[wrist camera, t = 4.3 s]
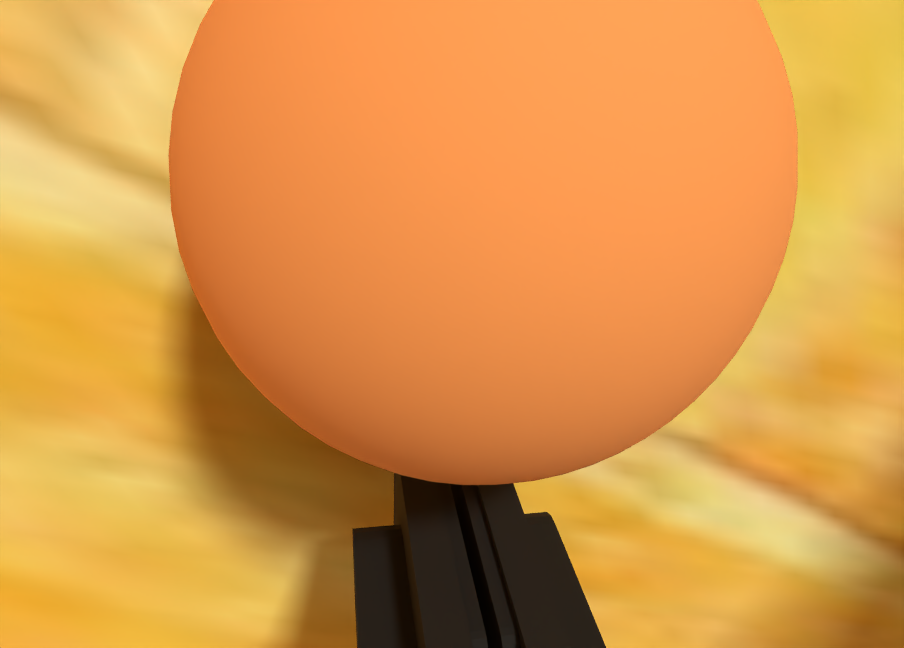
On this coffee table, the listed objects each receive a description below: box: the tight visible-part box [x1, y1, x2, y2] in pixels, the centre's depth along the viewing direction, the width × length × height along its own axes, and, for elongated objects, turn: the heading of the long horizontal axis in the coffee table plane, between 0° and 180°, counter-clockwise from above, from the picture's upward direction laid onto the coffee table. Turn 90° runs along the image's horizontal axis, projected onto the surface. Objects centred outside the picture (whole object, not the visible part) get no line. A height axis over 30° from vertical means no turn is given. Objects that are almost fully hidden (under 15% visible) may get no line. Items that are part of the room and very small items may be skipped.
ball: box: [169, 0, 797, 485], centre depth 7 cm, size 6×6×6 cm
